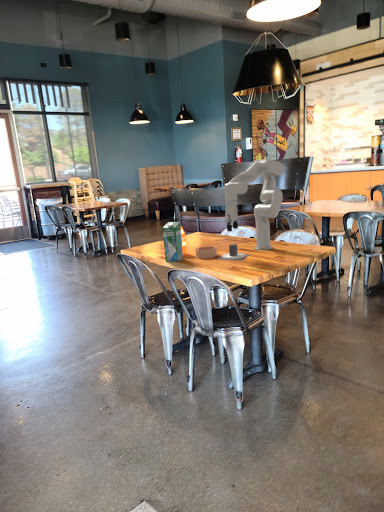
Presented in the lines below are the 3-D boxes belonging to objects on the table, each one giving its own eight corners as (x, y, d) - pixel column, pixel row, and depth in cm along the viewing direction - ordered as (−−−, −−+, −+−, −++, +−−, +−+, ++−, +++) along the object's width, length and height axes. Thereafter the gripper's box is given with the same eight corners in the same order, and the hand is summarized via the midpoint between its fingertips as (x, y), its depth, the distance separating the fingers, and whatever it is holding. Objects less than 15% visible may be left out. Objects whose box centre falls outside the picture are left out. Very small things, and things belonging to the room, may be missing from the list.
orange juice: (175, 252, 280) (173, 225, 276) (186, 252, 276) (184, 225, 272) (170, 254, 273) (168, 227, 269) (181, 255, 269) (179, 227, 265)
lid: (227, 253, 260) (227, 242, 259) (248, 254, 253) (248, 242, 251) (218, 258, 248) (217, 246, 246) (240, 260, 240) (239, 247, 239)
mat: (227, 254, 262) (227, 253, 262) (250, 255, 254) (250, 254, 254) (216, 260, 248) (216, 259, 247) (241, 261, 239) (241, 260, 239)
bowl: (202, 254, 267) (201, 246, 265) (219, 255, 260) (218, 246, 259) (193, 258, 256) (192, 249, 255) (210, 259, 250) (210, 250, 248)
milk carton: (165, 261, 254) (162, 223, 249) (171, 258, 263) (168, 221, 257) (177, 261, 251) (174, 223, 246) (183, 258, 259) (180, 221, 254)
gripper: (231, 201, 252) (232, 227, 255) (220, 204, 237) (221, 232, 241) (241, 201, 248) (243, 227, 252) (231, 204, 233) (232, 232, 237)
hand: (232, 229), depth 246 cm, fingers open, 9 cm apart
